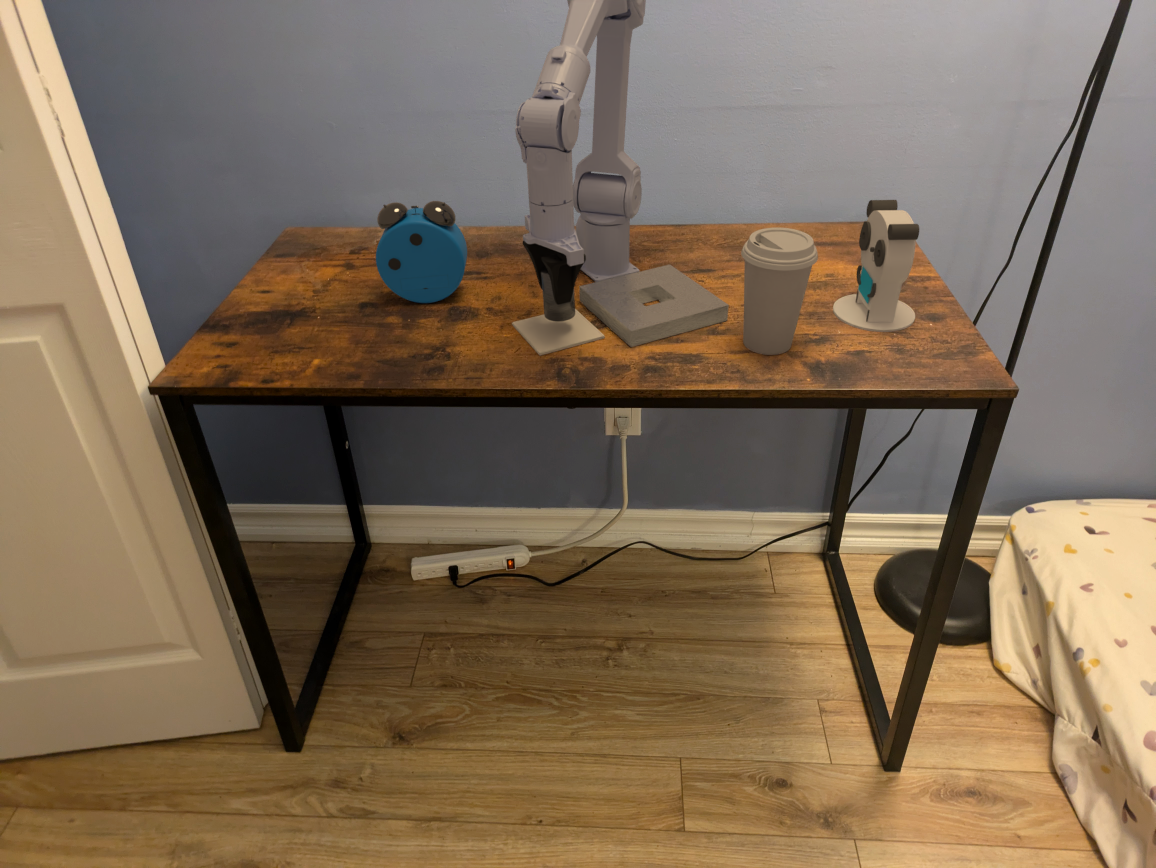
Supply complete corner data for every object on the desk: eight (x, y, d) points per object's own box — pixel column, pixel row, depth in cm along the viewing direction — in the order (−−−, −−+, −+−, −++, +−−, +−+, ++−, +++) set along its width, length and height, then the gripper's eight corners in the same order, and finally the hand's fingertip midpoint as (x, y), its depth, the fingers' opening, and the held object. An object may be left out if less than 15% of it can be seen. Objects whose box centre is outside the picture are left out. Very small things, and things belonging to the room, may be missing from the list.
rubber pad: (512, 324, 111) (511, 322, 111) (573, 309, 115) (573, 306, 114) (539, 355, 104) (539, 353, 104) (604, 338, 107) (604, 335, 107)
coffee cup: (727, 326, 109) (738, 225, 100) (795, 326, 109) (811, 224, 100) (736, 361, 101) (748, 255, 93) (809, 360, 101) (828, 254, 92)
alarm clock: (472, 286, 122) (461, 193, 113) (469, 303, 117) (457, 208, 108) (390, 289, 122) (372, 197, 113) (383, 307, 117) (364, 212, 108)
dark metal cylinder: (539, 310, 109) (536, 268, 105) (568, 304, 110) (565, 262, 106) (551, 324, 106) (548, 281, 102) (580, 317, 107) (578, 274, 103)
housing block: (579, 301, 117) (579, 286, 115) (669, 279, 122) (669, 264, 121) (630, 347, 105) (631, 331, 104) (727, 320, 111) (728, 304, 109)
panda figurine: (824, 294, 117) (841, 197, 108) (899, 293, 116) (923, 196, 107) (843, 332, 107) (864, 229, 98) (925, 331, 107) (954, 228, 98)
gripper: (501, 187, 102) (509, 281, 110) (545, 222, 91) (551, 323, 99) (549, 178, 104) (553, 271, 112) (598, 211, 94) (599, 311, 102)
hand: (555, 295), depth 106 cm, fingers closed on dark metal cylinder, 4 cm apart
